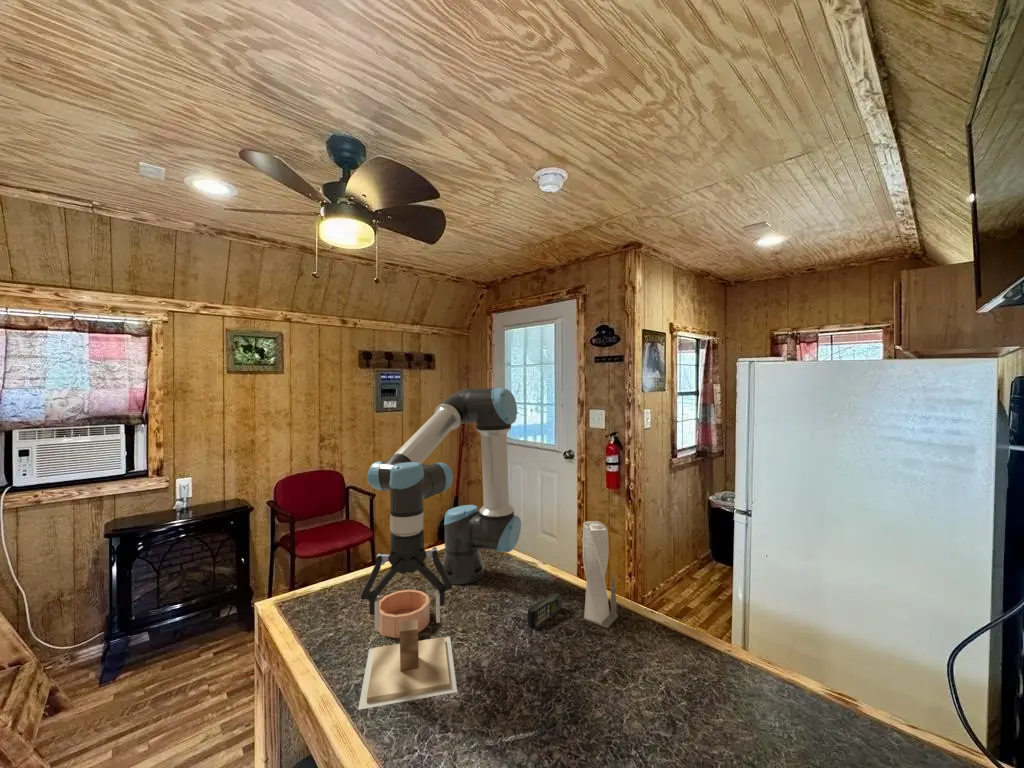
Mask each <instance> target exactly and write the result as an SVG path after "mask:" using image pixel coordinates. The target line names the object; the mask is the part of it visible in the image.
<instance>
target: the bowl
mask: <svg viewBox="0 0 1024 768" xmlns="http://www.w3.org/2000/svg"><path fill="white" fill-rule="evenodd" d="M430 618H431V617H430V596H429V594H427V593H425V592H424V591H422V590H415V589H405V590H397V591H395V592H392V593H389V594H387V595H384V596H383V597H382V598H381V599H379V630H378V631H377V632H378V633H379V634H380V635H381V636H382V637H388V638H391V639H392V638H394V639H400V622H403V621H410V620H417V619H418V633H420V632H422V631H423V630H425V628H426V627H427V626H428V625H429V623H430V621H431V620H430Z"/></svg>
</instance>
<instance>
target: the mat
mask: <svg viewBox="0 0 1024 768" xmlns="http://www.w3.org/2000/svg"><path fill="white" fill-rule="evenodd" d="M444 637H445V636H444ZM445 646H446V655H447V664H448V673H449V683H450V688H447V689H442V690H436V691H431V692H425V693H419V694H414V695H408V696H403V697H397V698H391V699H386V700H380V701H375V702H369V703H367V693H368V687H369V681H370V674H371V668H372V662H373V656H374V650H375V647H373V648H369V649H368V655H367V659H366V664H365V670H364V674H363V675H364V676H363V680H362V685H361V692H360V697H359V702H358V711H360V710H365V709H373V708H376V707H382V706H388V705H392V704H399V703H403V702H410V701H415V700H420V699H425V698H432V697H436V696H443V695H448V694H454V693H458V687H457V679H456V673H455V672H456V671H455V664H454V655H453V650H452V641H451V636H446V637H445Z"/></svg>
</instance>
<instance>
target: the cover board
mask: <svg viewBox="0 0 1024 768" xmlns="http://www.w3.org/2000/svg"><path fill="white" fill-rule="evenodd" d="M374 648H375V650H374V656H373V662H372V668H371V674H370V681H369V687H368V693H367V703H369V702H375V701H380V700H386V699H391V698H397V697H403V696H408V695H414V694H419V693H425V692H431V691H436V690H442V689H447V688H450V683H449V673H448V664H447V655H446V646H445V636H444V637H443V636H442V637H437V638H430V639H429V638H428V639H423V640H419V632H418V619H417V620H410V621H403V622H400V638H399V643H397V644H396V643H395V644H389V645H383V646H376V647H374Z"/></svg>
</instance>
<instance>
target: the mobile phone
mask: <svg viewBox="0 0 1024 768" xmlns="http://www.w3.org/2000/svg"><path fill="white" fill-rule="evenodd" d="M562 606H563V597H562V595H561V594H560V593H558V592H555V593H552V594H551V595H548V596H547V597H545V598H543V599H542V600H540V601H539V602H536V603H534V604H533V605H532V606H531V607H529V608H528V610H527V626H528V627H529V628H531V629H535V628H537V627H538V626H539V625H541V624H542V623H544V622H546V621H547V620H549V619H550V618H552V617H553V616H554V617H555V615H557V614H558V613H559V611H560V610H561V609H562Z"/></svg>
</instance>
